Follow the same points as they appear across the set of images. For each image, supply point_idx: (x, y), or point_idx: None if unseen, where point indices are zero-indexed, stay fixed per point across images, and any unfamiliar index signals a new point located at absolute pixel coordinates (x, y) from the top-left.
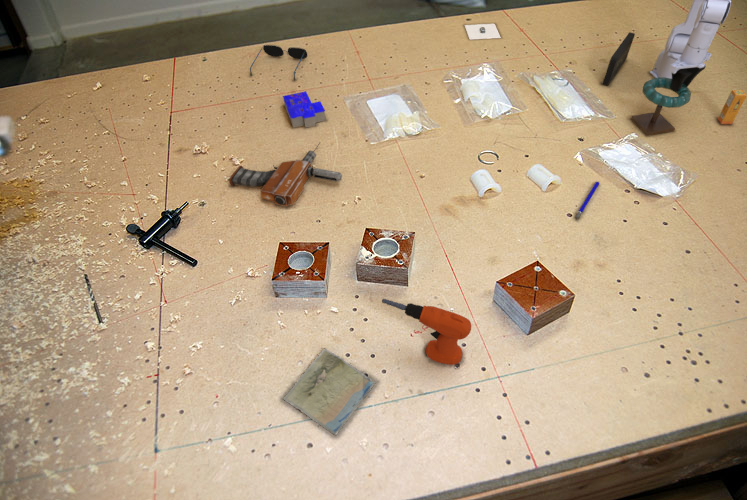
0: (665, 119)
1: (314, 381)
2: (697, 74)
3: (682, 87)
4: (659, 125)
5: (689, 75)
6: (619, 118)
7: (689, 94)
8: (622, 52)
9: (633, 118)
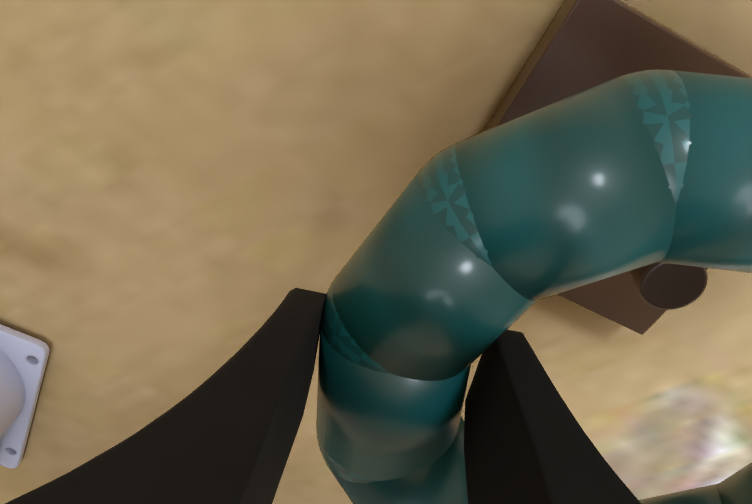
0: None
1: None
2: (162, 429)
3: (465, 344)
4: None
5: (263, 477)
6: (674, 365)
7: (597, 170)
8: None
9: (663, 311)
